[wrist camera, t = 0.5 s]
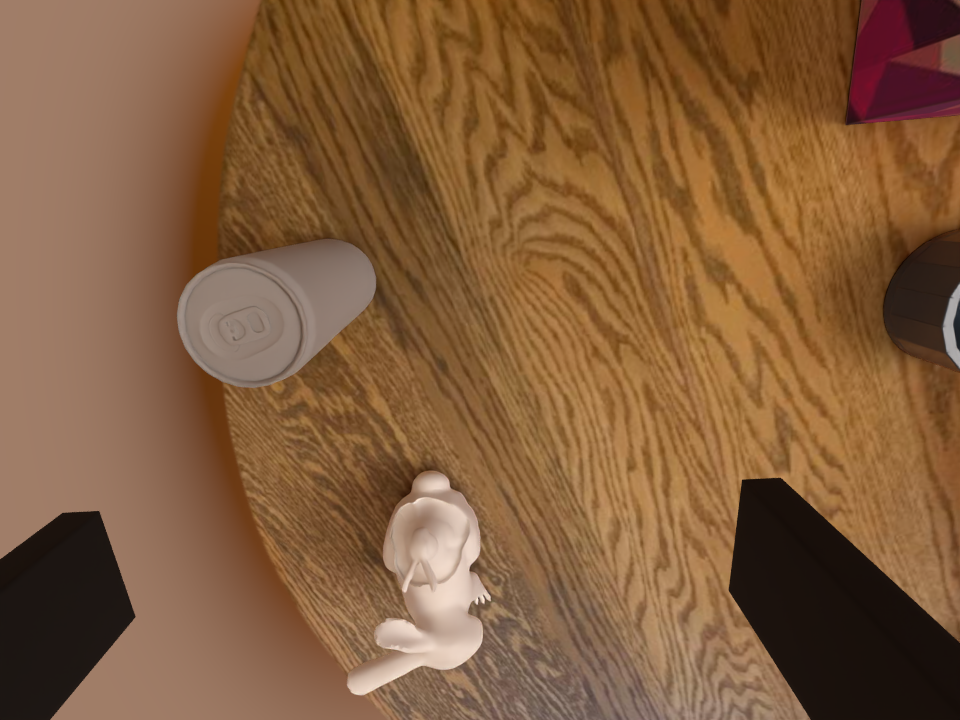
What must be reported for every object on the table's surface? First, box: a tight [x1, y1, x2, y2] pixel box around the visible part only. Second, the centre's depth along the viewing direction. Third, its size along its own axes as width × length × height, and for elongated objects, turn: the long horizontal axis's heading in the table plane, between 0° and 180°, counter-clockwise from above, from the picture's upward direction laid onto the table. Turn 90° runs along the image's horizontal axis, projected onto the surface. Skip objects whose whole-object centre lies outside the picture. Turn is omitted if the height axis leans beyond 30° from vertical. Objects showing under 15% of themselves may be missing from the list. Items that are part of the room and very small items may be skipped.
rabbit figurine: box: [347, 470, 491, 695], centre depth 29 cm, size 12×8×10 cm, turn 6°
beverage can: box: [177, 239, 376, 388], centre depth 23 cm, size 5×5×12 cm
